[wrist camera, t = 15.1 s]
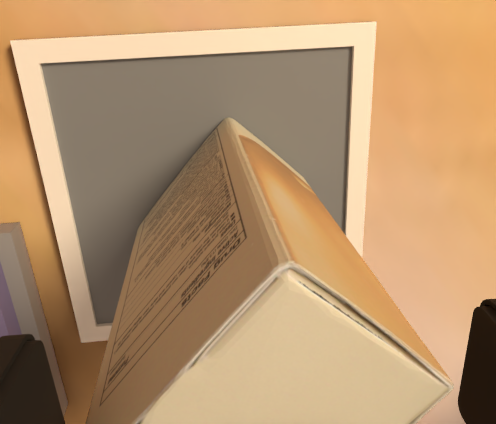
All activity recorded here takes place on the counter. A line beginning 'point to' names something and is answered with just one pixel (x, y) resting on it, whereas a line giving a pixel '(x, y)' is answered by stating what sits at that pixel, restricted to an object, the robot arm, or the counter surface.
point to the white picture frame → (186, 129)
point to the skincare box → (256, 308)
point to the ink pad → (23, 299)
